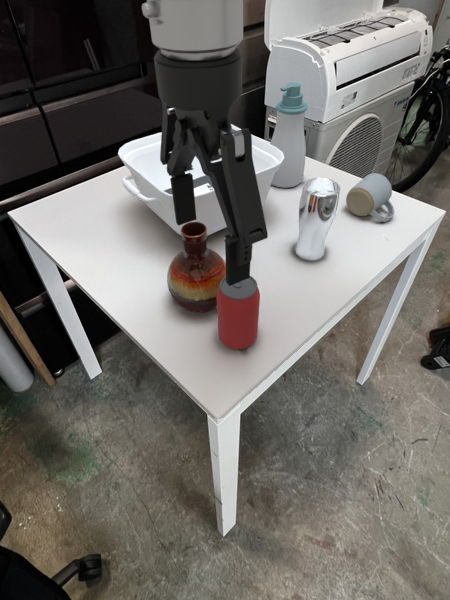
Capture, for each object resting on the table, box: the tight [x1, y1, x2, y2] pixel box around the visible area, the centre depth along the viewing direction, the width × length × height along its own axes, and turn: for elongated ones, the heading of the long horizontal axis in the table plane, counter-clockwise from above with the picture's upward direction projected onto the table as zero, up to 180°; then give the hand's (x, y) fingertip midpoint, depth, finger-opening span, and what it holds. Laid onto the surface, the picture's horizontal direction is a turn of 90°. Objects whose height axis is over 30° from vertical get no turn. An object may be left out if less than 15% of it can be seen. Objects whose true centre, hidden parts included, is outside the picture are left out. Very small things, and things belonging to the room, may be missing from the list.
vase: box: [166, 222, 226, 313], centre depth 64 cm, size 11×11×15 cm
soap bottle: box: [269, 82, 309, 189], centre depth 91 cm, size 10×10×23 cm
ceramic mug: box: [345, 172, 395, 223], centre depth 85 cm, size 11×8×8 cm
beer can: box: [216, 275, 261, 350], centre depth 59 cm, size 7×7×12 cm
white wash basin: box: [117, 123, 284, 237], centre depth 83 cm, size 34×29×15 cm
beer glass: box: [294, 177, 341, 261], centre depth 73 cm, size 7×7×15 cm
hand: (209, 248), depth 47 cm, fingers open, 13 cm apart
